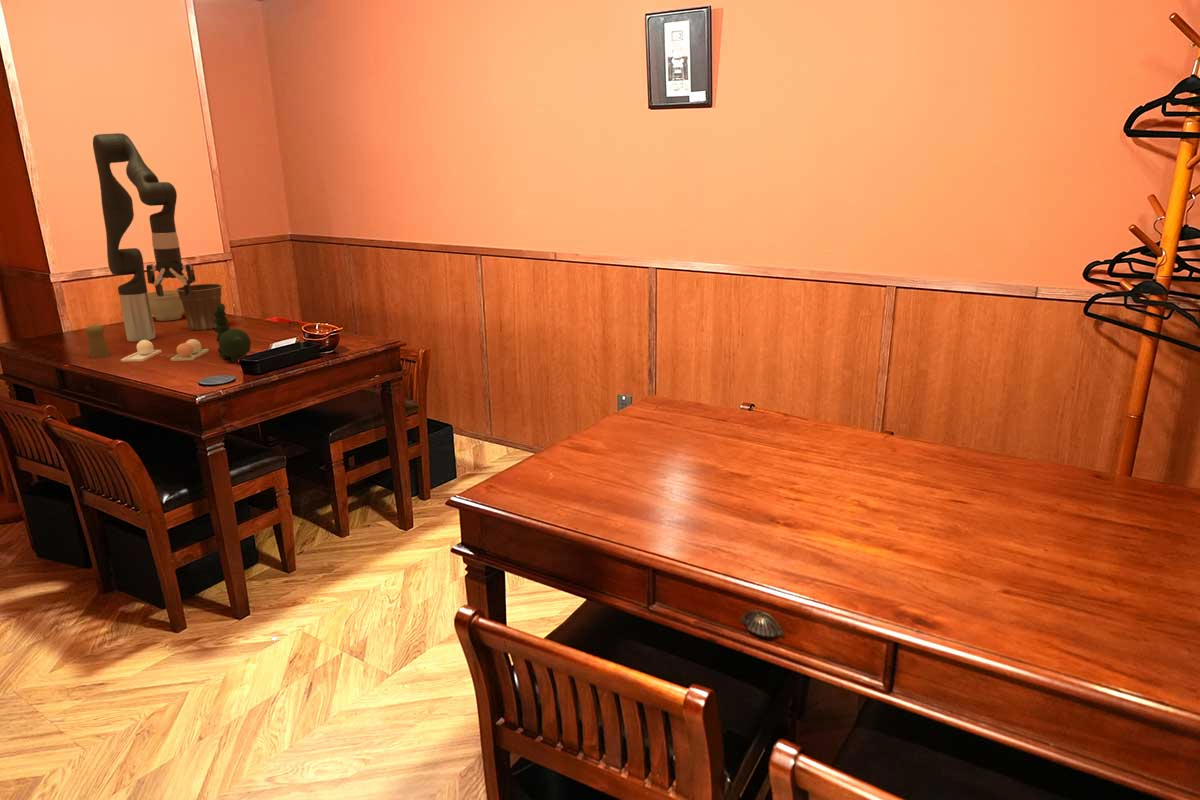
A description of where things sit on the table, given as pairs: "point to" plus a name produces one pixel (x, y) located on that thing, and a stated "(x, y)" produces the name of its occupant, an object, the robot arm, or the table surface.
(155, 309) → the planter bowl
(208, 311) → the plant pot
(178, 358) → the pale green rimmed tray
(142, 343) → the ball
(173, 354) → the card
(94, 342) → the olive green waisted cylinder
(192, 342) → the ball
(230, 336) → the toy figurine
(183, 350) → the ball
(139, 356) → the egg tray
